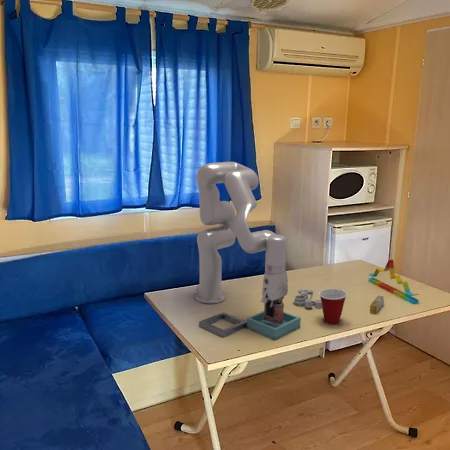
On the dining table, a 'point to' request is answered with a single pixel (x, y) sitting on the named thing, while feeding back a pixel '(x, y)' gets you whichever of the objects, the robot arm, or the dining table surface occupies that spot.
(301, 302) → the pulley system
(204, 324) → the gray square frame
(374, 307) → the medication box
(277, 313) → the lighter
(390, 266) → the rainbow zigzag toy
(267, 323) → the tray
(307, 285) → the dining table surface
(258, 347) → the dining table surface
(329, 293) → the plastic cup
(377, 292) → the dining table surface
